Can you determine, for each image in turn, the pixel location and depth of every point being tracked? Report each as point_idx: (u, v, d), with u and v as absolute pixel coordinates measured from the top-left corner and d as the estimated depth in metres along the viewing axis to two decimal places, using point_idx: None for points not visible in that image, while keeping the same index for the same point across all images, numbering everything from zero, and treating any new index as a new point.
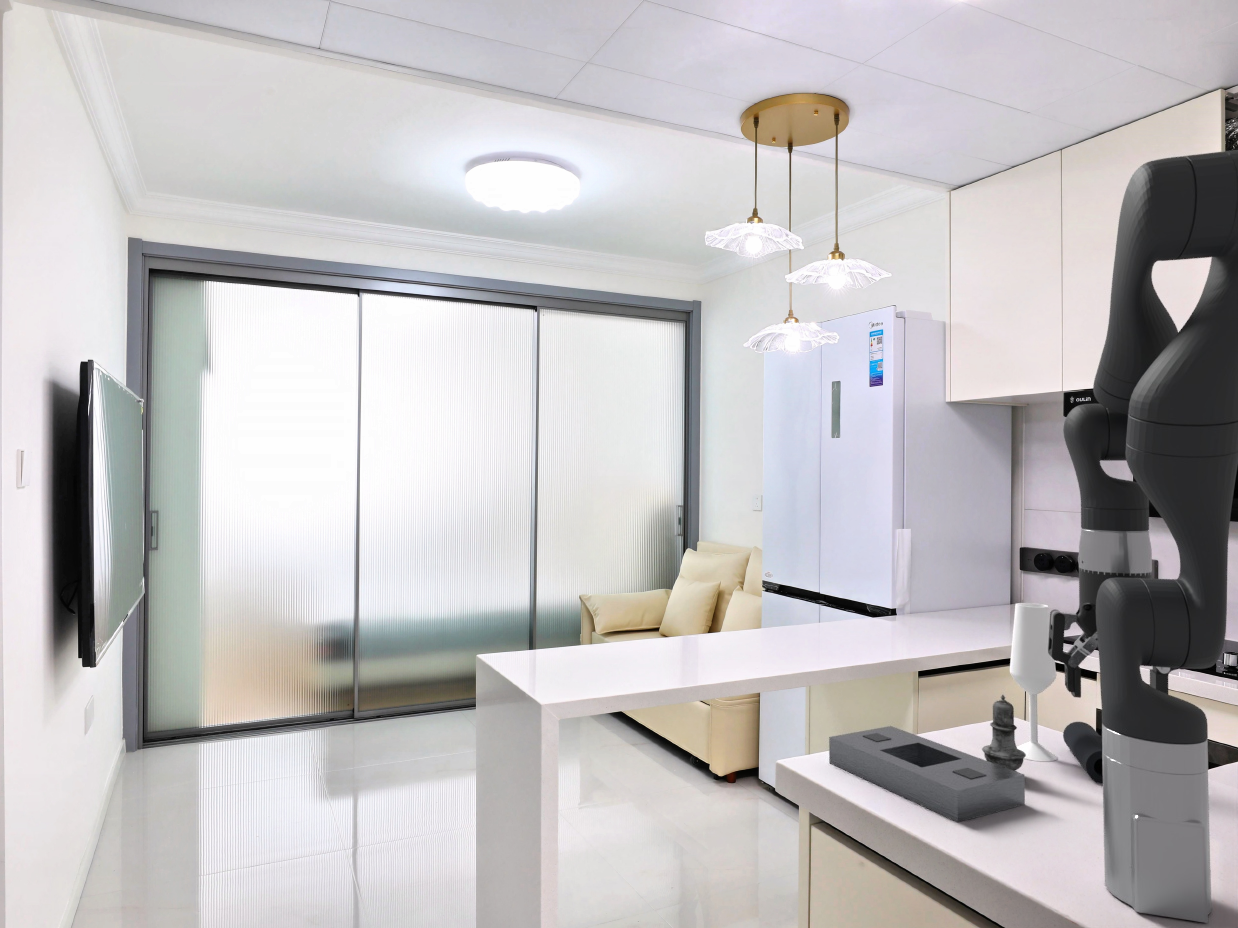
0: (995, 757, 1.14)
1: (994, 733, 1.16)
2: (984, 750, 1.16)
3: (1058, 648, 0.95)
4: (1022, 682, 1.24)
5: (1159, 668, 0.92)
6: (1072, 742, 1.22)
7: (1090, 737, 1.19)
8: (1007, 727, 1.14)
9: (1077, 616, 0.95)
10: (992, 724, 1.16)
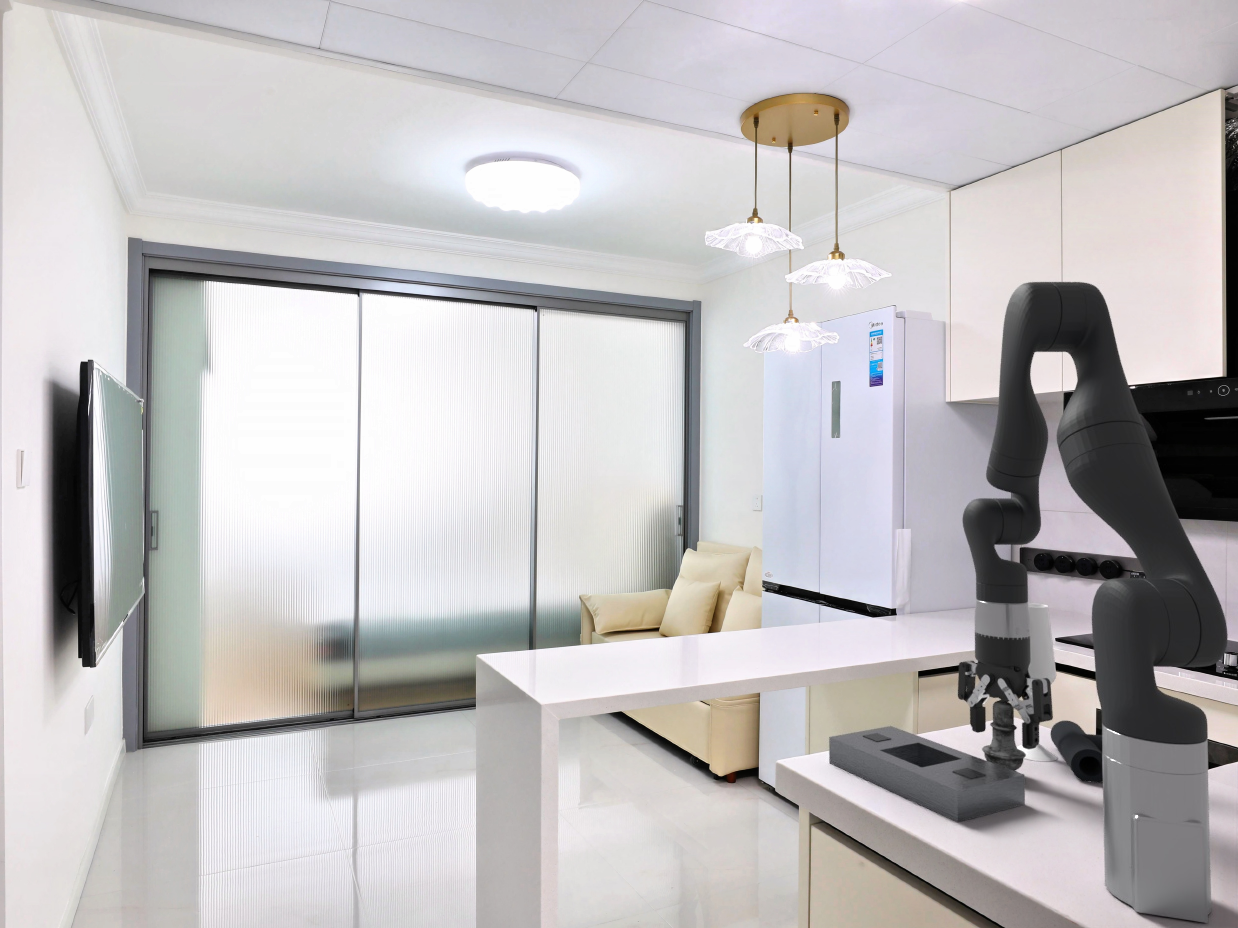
0: (995, 757, 1.14)
1: (994, 733, 1.16)
2: (984, 750, 1.16)
3: None
4: None
5: None
6: (1059, 741, 1.23)
7: (1077, 736, 1.20)
8: (1007, 727, 1.14)
9: None
10: (992, 724, 1.16)
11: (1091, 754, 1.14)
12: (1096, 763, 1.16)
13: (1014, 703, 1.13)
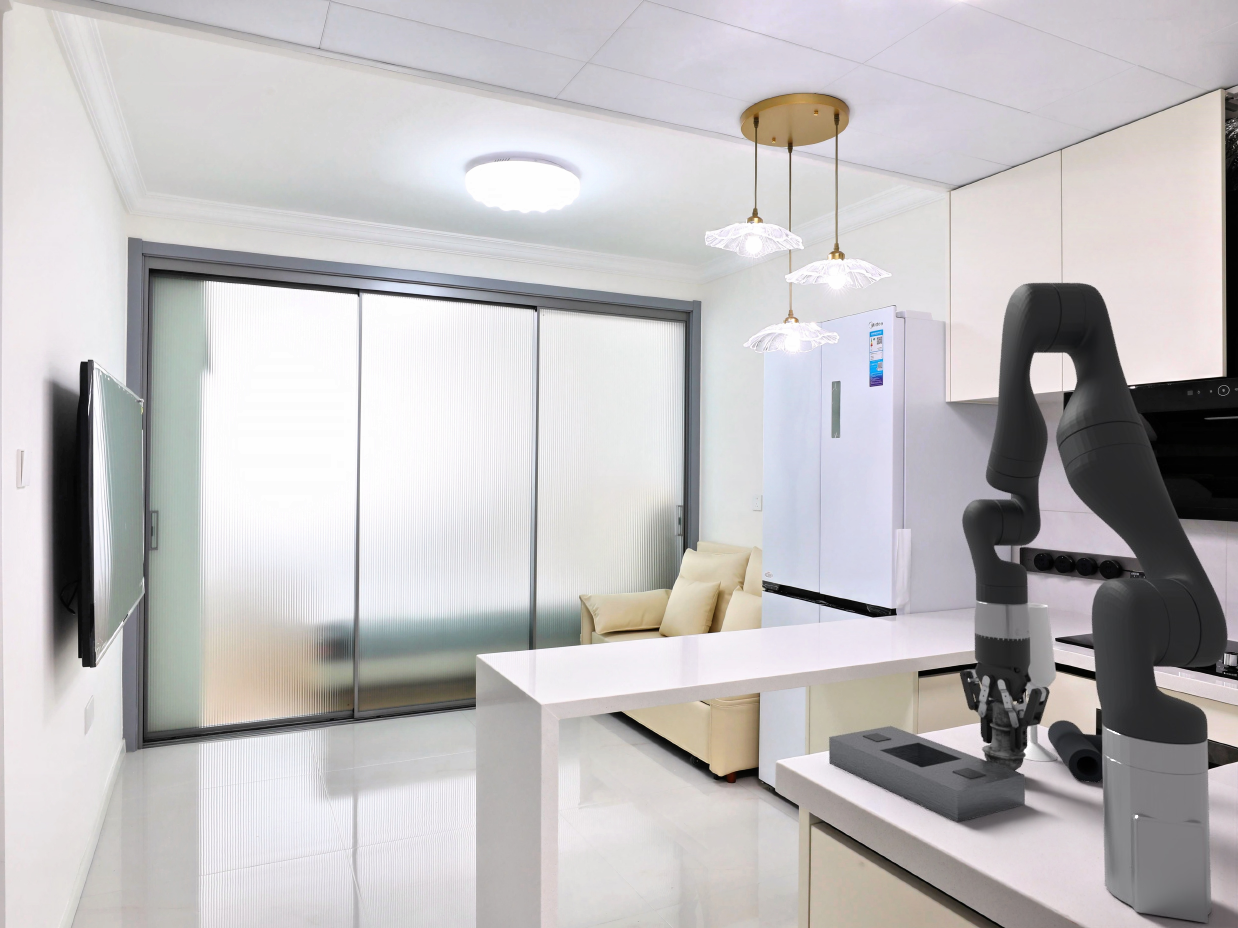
0: (995, 756, 1.14)
1: (994, 732, 1.16)
2: (984, 750, 1.16)
3: None
4: None
5: None
6: (1056, 740, 1.23)
7: (1074, 735, 1.20)
8: (1007, 727, 1.14)
9: (1030, 682, 1.13)
10: (992, 724, 1.16)
11: (1089, 754, 1.14)
12: (1094, 763, 1.16)
13: (1007, 706, 1.14)
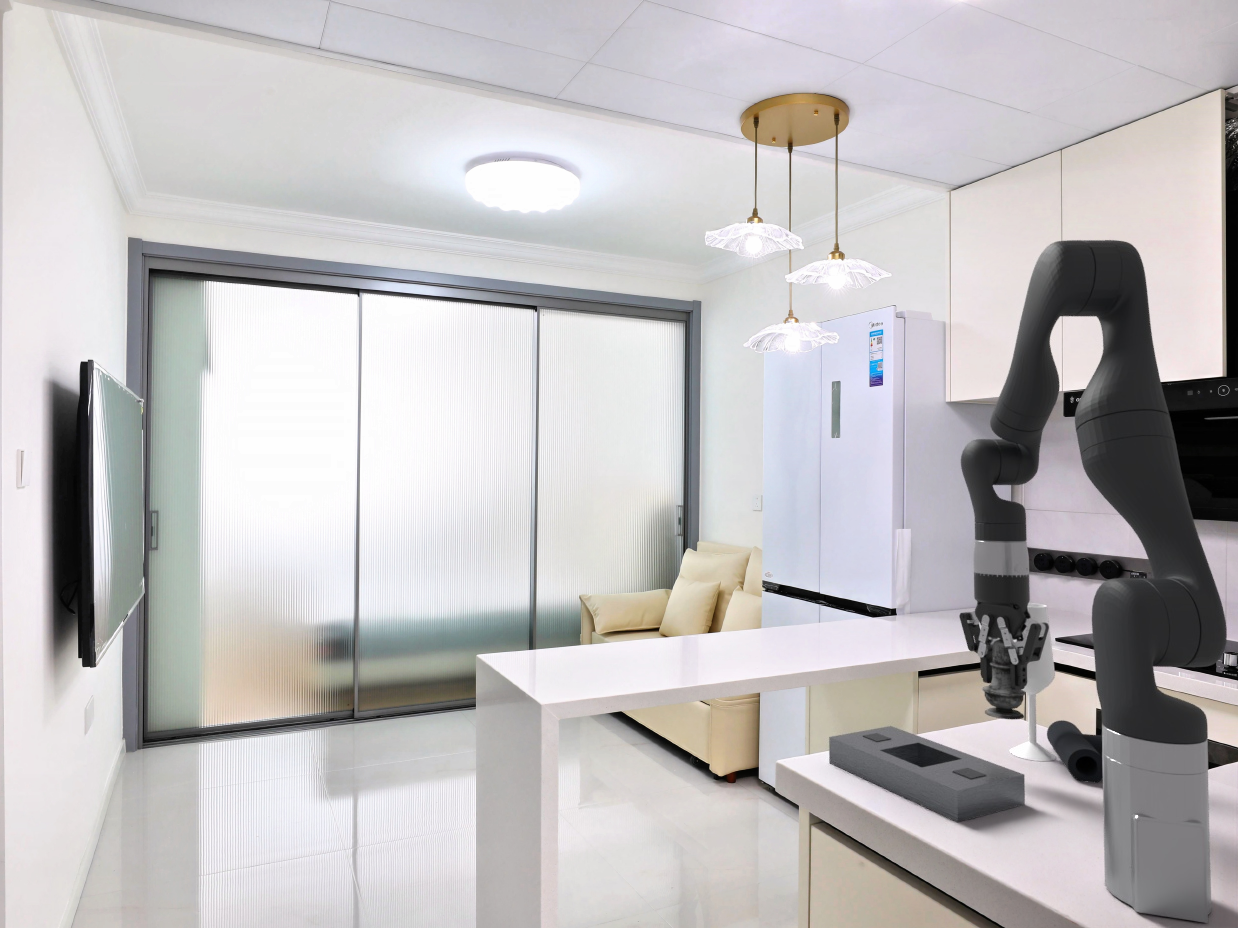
0: (995, 694, 1.14)
1: (994, 671, 1.16)
2: (984, 689, 1.16)
3: None
4: None
5: None
6: (1055, 741, 1.23)
7: (1073, 735, 1.20)
8: (1007, 665, 1.15)
9: (1029, 619, 1.13)
10: (992, 663, 1.16)
11: (1088, 754, 1.14)
12: (1092, 763, 1.16)
13: (1007, 643, 1.14)
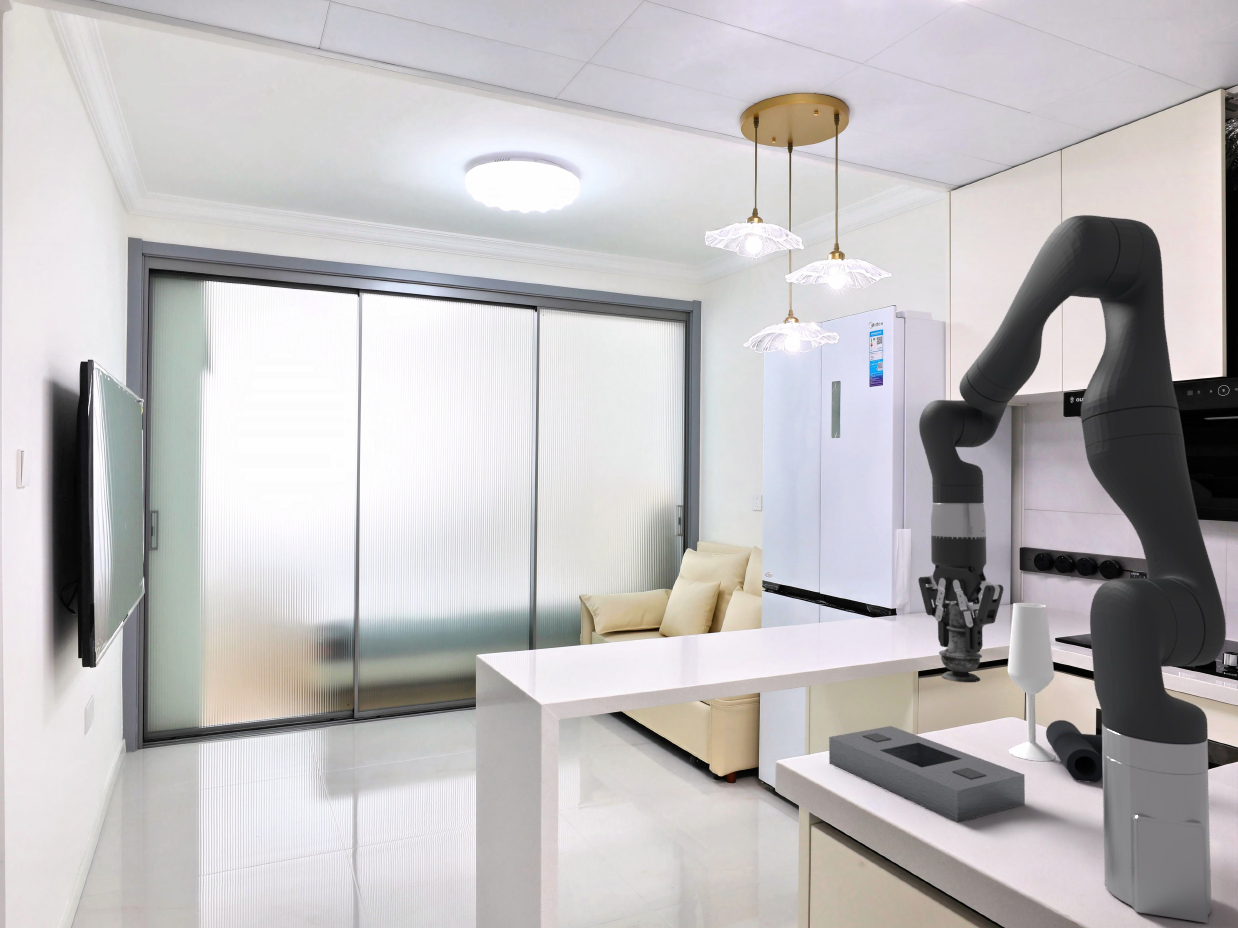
0: (951, 657, 1.13)
1: (950, 635, 1.15)
2: (940, 653, 1.15)
3: None
4: (1020, 682, 1.24)
5: None
6: (1054, 740, 1.23)
7: (1072, 735, 1.20)
8: (963, 628, 1.13)
9: (984, 581, 1.12)
10: (948, 626, 1.15)
11: (1086, 754, 1.14)
12: (1091, 763, 1.16)
13: (962, 606, 1.12)
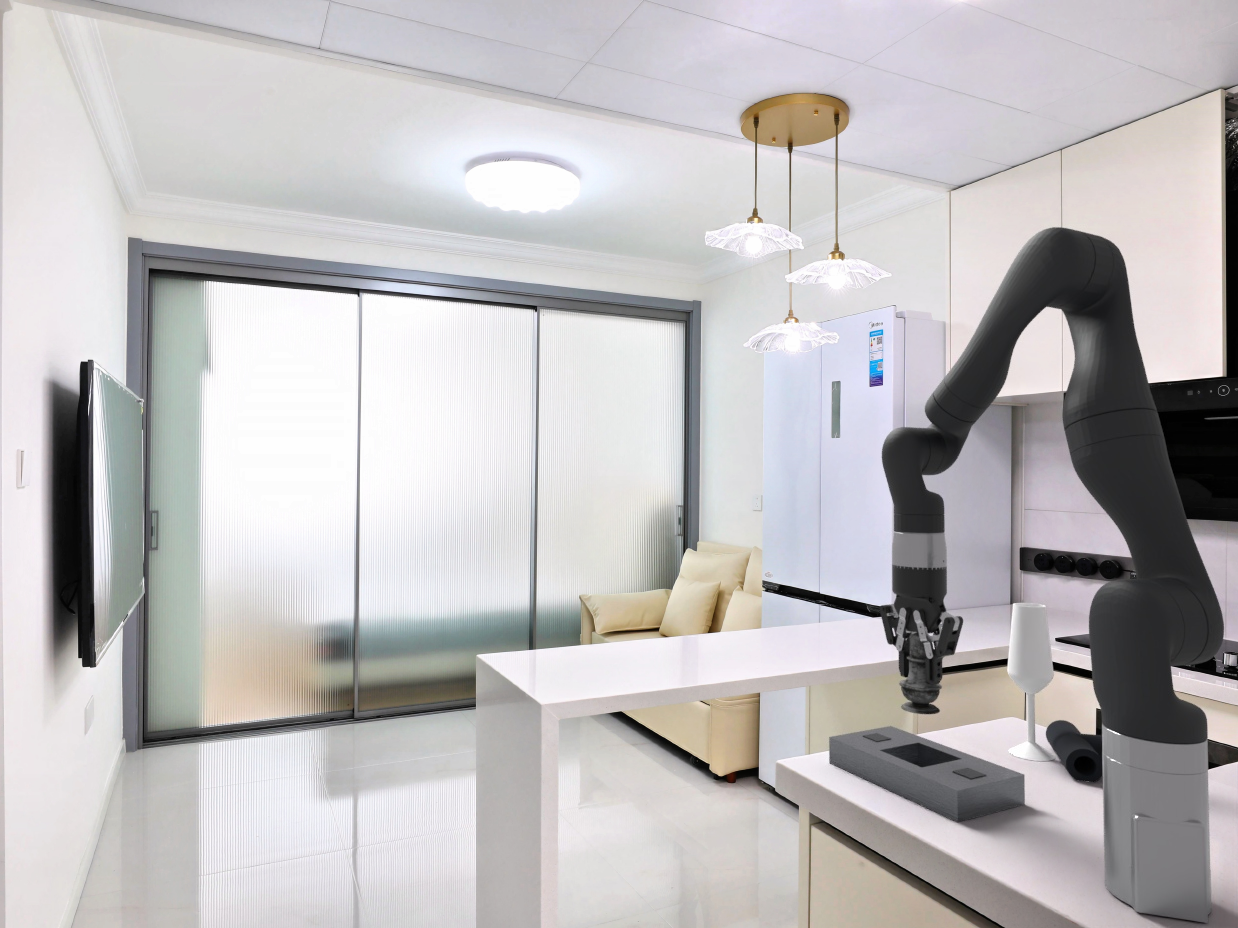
0: (910, 689, 1.12)
1: (910, 665, 1.13)
2: (900, 683, 1.14)
3: None
4: (1020, 682, 1.24)
5: None
6: (1054, 740, 1.23)
7: (1072, 735, 1.20)
8: (923, 659, 1.12)
9: (944, 612, 1.10)
10: (909, 657, 1.14)
11: (1086, 754, 1.14)
12: (1091, 763, 1.16)
13: (922, 637, 1.11)
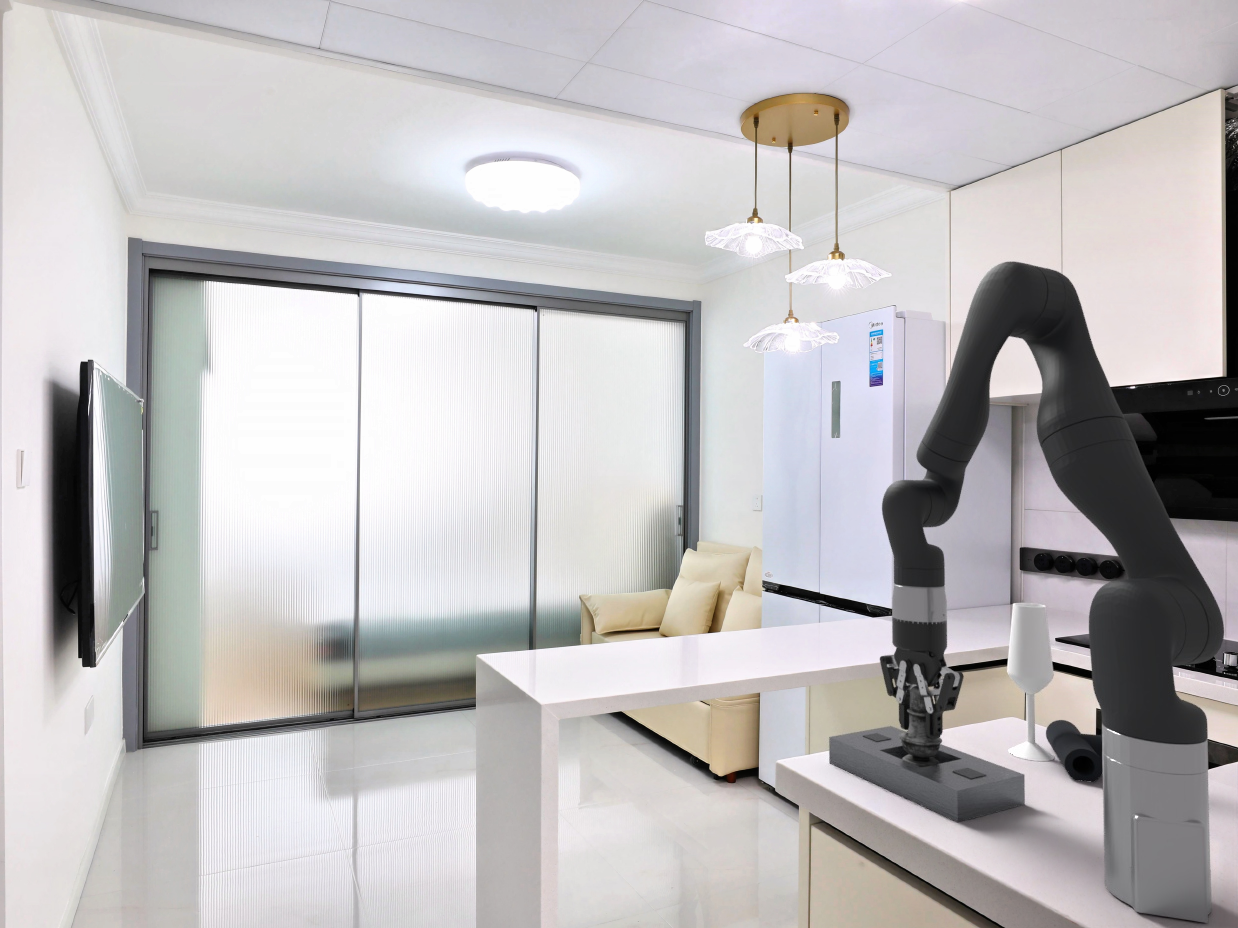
0: (910, 743, 1.11)
1: (911, 719, 1.13)
2: (901, 736, 1.14)
3: None
4: (1019, 682, 1.24)
5: None
6: (1053, 740, 1.23)
7: (1071, 735, 1.20)
8: (923, 713, 1.12)
9: (945, 667, 1.10)
10: (909, 710, 1.14)
11: (1084, 754, 1.14)
12: (1090, 763, 1.16)
13: (922, 691, 1.11)
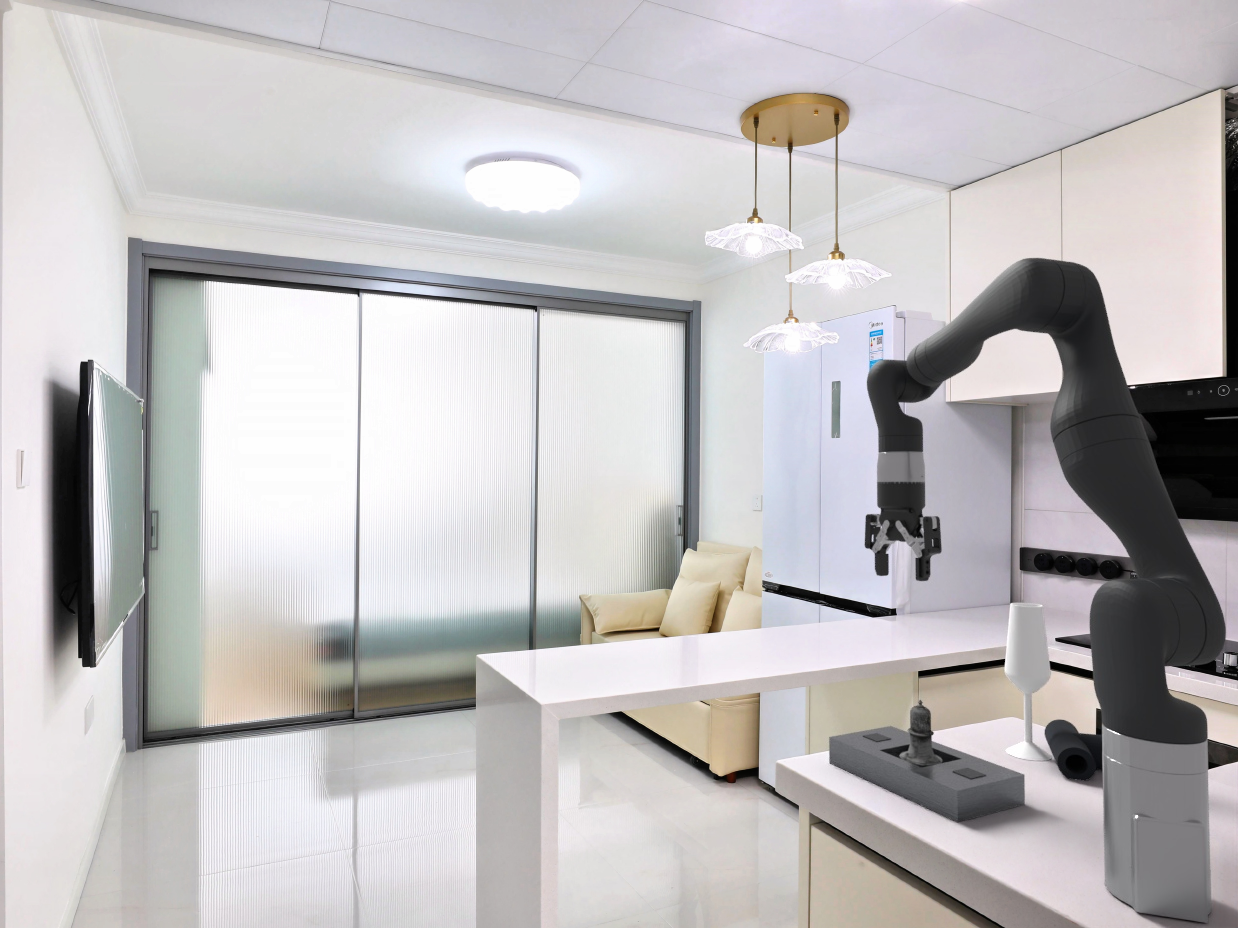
0: None
1: (911, 739, 1.13)
2: (901, 756, 1.13)
3: None
4: (1017, 682, 1.24)
5: None
6: (1050, 739, 1.24)
7: (1066, 734, 1.20)
8: (924, 733, 1.12)
9: None
10: (909, 730, 1.13)
11: (1077, 752, 1.14)
12: (1084, 762, 1.17)
13: (908, 541, 1.24)
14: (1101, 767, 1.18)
